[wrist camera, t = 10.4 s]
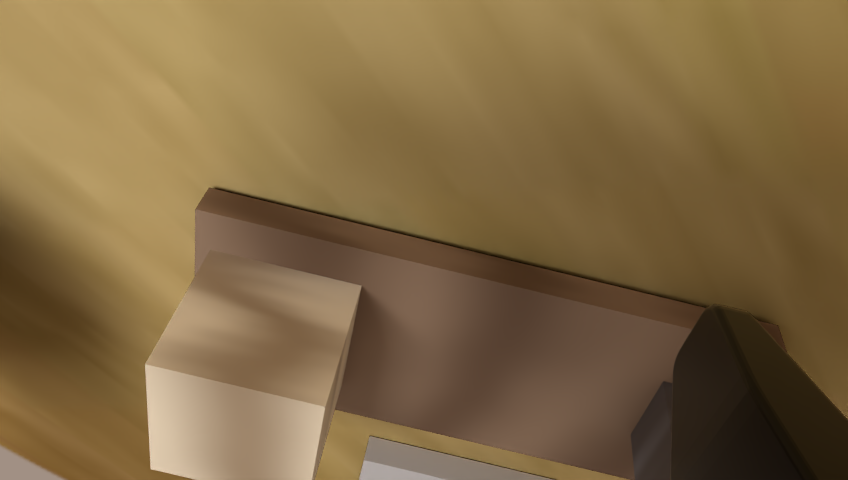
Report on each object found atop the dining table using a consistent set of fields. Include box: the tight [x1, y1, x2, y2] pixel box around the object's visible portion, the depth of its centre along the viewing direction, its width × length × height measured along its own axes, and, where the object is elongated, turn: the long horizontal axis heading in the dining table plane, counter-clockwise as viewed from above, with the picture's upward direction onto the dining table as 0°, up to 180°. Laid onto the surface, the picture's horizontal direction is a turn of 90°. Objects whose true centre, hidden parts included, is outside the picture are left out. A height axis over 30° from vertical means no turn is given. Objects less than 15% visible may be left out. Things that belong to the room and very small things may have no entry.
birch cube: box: [145, 249, 362, 480], centre depth 24 cm, size 5×5×5 cm
